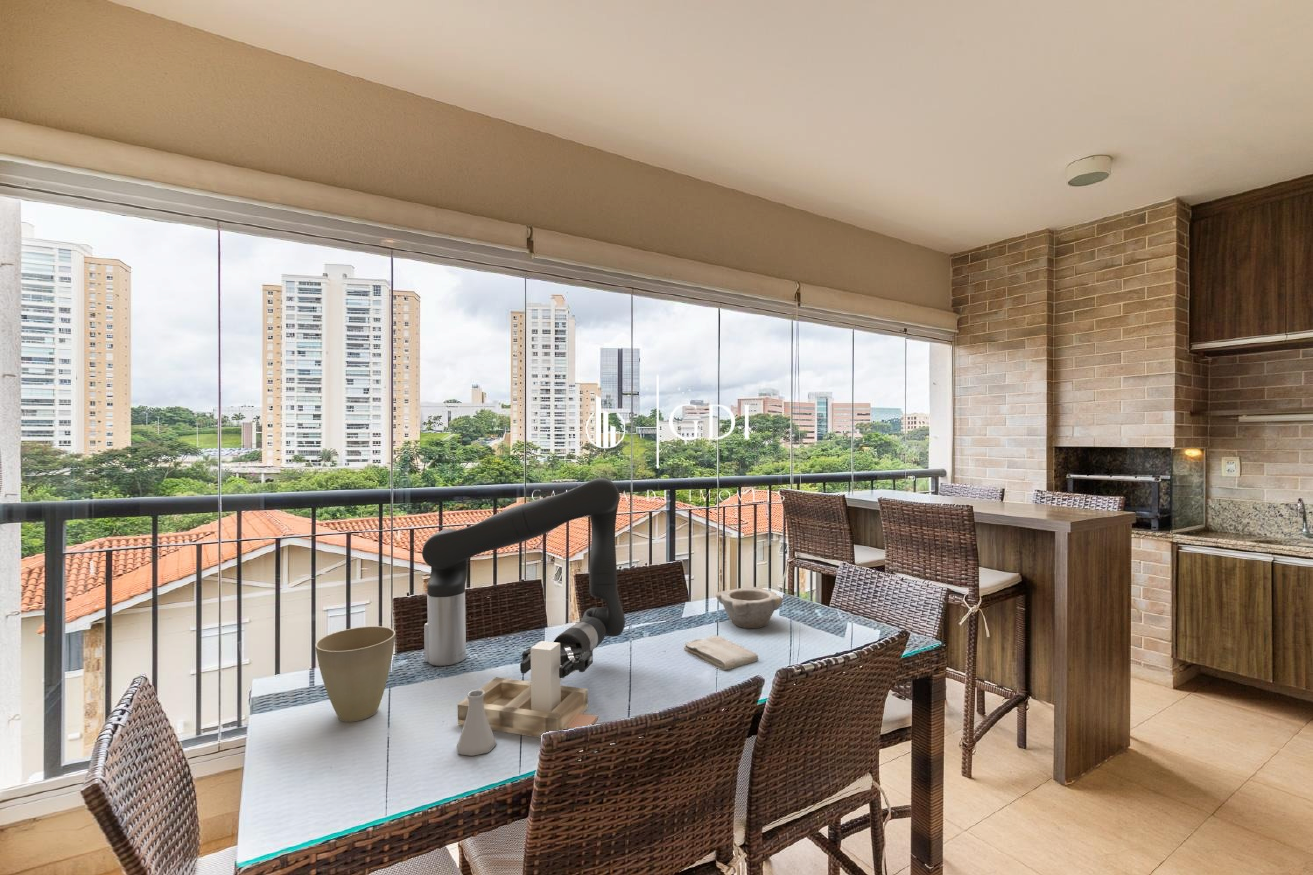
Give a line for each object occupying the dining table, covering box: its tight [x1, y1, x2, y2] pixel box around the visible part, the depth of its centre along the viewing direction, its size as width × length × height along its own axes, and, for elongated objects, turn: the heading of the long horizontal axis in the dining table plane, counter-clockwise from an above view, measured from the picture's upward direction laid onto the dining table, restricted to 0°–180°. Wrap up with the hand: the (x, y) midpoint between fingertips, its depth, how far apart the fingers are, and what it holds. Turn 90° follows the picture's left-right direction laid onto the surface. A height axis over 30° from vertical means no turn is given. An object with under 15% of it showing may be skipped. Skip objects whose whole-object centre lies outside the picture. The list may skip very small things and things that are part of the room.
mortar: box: [715, 586, 783, 629], centre depth 182 cm, size 17×17×9 cm
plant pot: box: [314, 625, 396, 723], centre depth 125 cm, size 15×15×16 cm
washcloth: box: [683, 635, 759, 671], centre depth 156 cm, size 12×18×3 cm, turn 34°
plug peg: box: [530, 640, 562, 713], centre depth 122 cm, size 4×4×14 cm
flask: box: [456, 689, 497, 756], centre depth 112 cm, size 7×7×10 cm
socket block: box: [457, 676, 599, 739], centre depth 123 cm, size 26×14×4 cm, turn 73°
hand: (541, 671), depth 120 cm, fingers open, 8 cm apart
